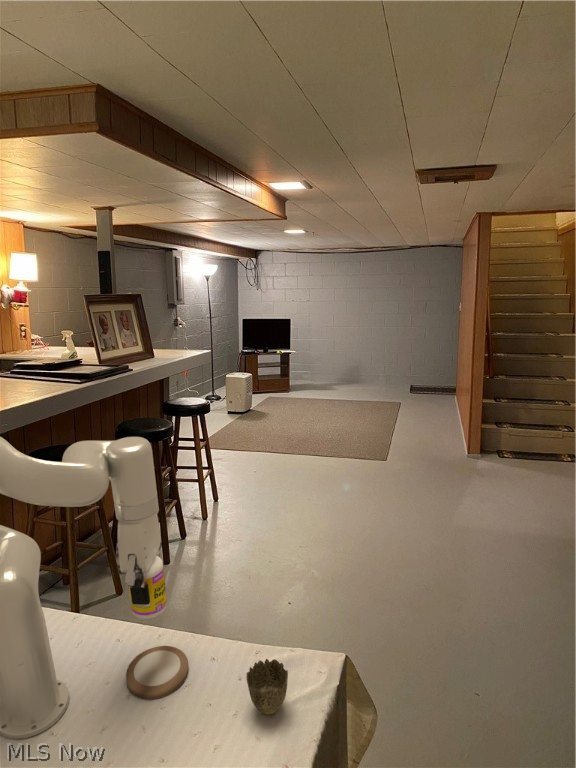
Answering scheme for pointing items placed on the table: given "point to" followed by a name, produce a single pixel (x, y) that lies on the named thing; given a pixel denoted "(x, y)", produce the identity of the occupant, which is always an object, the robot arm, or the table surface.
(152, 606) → the supplement bottle
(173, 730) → the table surface
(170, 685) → the plate
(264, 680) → the brown scalloped shell
